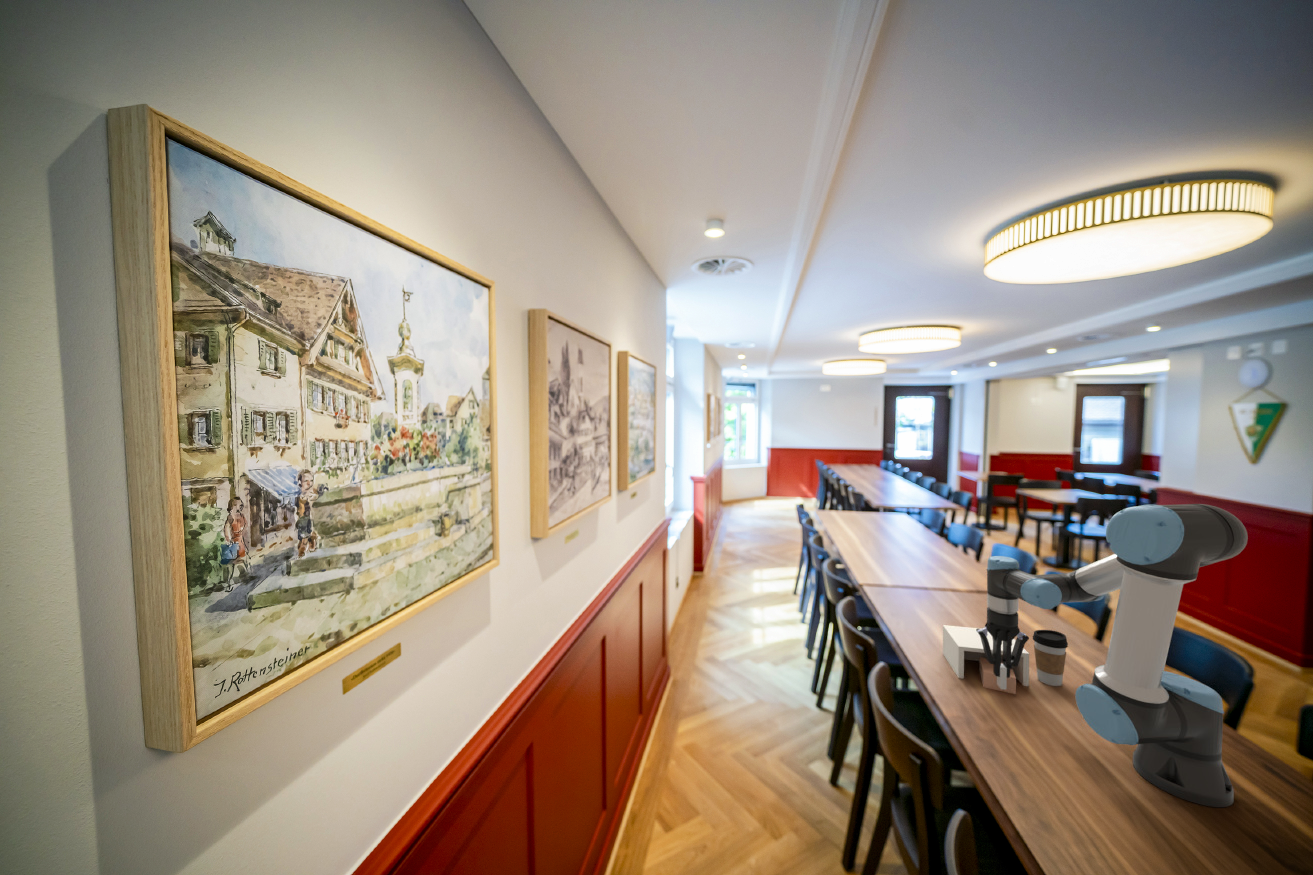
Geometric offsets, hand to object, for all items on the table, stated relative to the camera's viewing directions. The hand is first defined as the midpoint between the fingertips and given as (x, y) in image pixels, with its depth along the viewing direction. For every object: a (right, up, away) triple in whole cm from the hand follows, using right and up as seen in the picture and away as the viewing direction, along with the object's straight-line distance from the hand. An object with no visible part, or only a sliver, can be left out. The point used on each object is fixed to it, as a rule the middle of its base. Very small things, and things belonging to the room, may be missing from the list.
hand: (1001, 686), depth 140 cm
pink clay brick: (+3, -2, +6) cm, 7 cm away
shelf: (+4, -2, +14) cm, 14 cm away
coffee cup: (+20, -2, +6) cm, 21 cm away
